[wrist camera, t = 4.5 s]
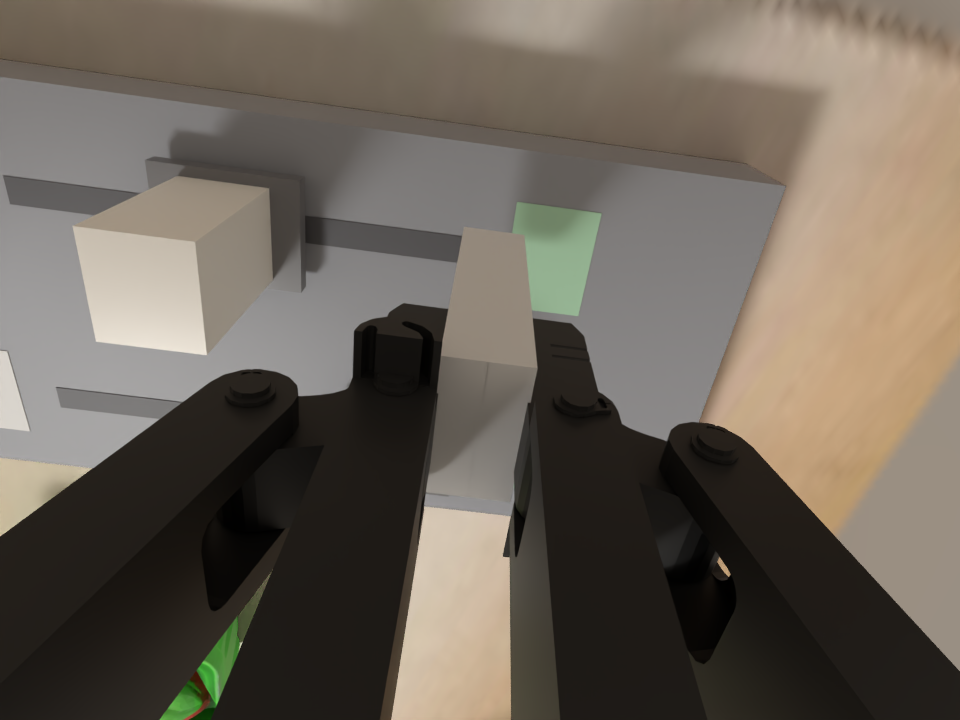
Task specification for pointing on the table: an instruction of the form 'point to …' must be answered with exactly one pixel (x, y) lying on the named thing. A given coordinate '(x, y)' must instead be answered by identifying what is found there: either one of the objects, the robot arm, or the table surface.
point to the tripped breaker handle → (191, 253)
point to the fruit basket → (207, 681)
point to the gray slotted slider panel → (357, 250)
